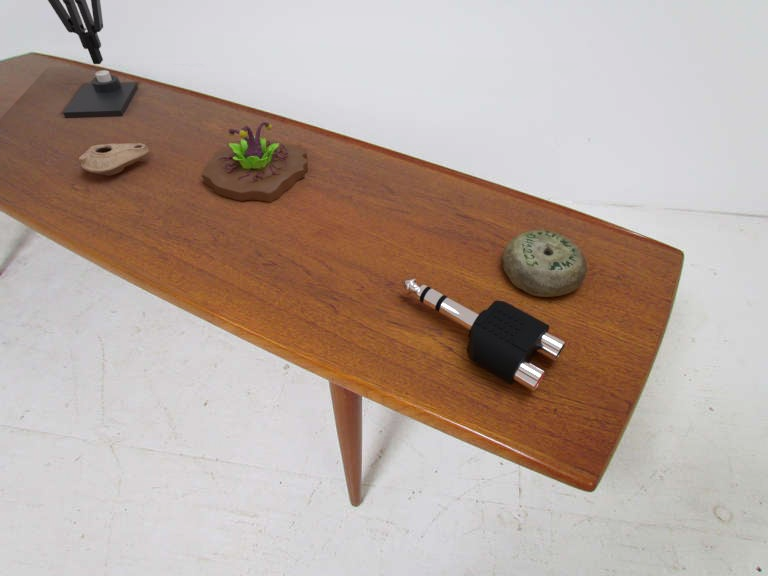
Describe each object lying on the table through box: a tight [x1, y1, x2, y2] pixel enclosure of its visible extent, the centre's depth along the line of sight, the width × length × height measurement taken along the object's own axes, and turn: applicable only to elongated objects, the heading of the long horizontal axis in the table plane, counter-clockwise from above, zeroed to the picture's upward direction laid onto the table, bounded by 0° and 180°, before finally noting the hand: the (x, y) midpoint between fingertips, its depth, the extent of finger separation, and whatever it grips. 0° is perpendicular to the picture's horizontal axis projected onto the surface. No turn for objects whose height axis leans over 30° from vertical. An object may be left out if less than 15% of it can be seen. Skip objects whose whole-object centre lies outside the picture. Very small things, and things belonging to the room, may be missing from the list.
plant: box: [201, 121, 309, 203], centre depth 99 cm, size 20×20×11 cm
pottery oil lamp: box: [78, 142, 150, 177], centre depth 101 cm, size 9×12×7 cm
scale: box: [62, 74, 139, 119], centre depth 123 cm, size 13×16×4 cm
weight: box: [501, 229, 588, 298], centre depth 81 cm, size 14×13×5 cm
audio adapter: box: [401, 278, 567, 392], centre depth 72 cm, size 11×5×25 cm
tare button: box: [94, 69, 112, 83], centre depth 125 cm, size 3×3×2 cm
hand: (98, 61), depth 122 cm, fingers closed
